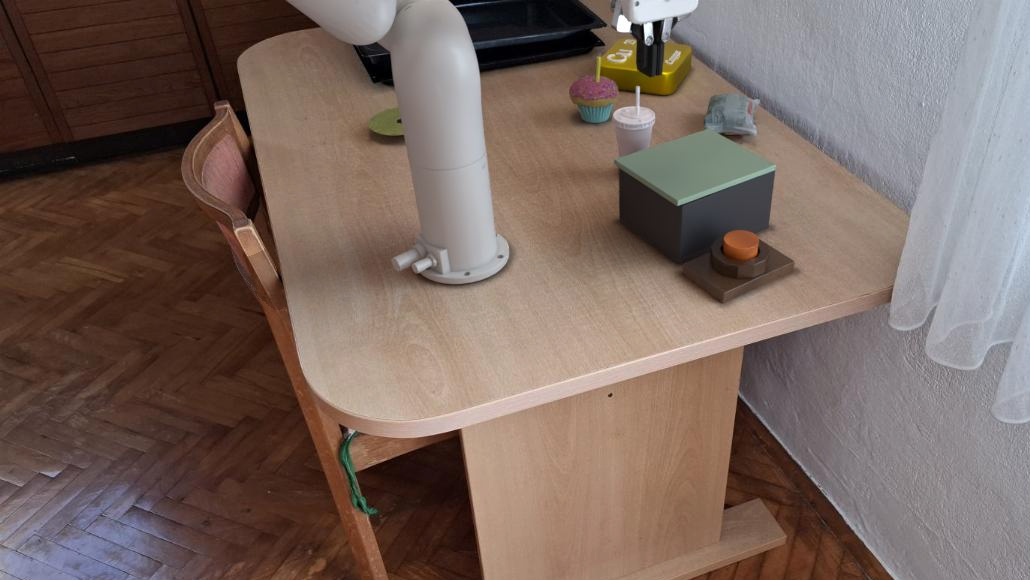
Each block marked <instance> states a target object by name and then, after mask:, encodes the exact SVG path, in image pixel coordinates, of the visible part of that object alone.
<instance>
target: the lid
mask: <svg viewBox="0 0 1030 580" xmlns="http://www.w3.org/2000/svg"><path fill="white" fill-rule="evenodd" d="M613 165H614V166H615V167H617V168H618V169H619V168H620V169H622V170H623V171H625V172H626V173H628V174H629V175H631V176H632V177H634V178H635V179H637V180H638V181H640V182H641V183H643V184H644V185H646V186H648V187H649V188H651V189H652V190H654V191H655V192H657V193H658V194H660V195H661V196H663V197H664V198H666V199H667V200H669V201H670V202H672V203H673V204H675V205H676V206H679V205H682V204H685V203H688V202H690V201H693V200H696V199H698V198H701V197H704V196H707V195H709V194H712V193H715V192H717V191H720V190H723V189H725V188H728V187H731V186H734V185H736V184H739V183H742V182H744V181H747V180H750V179H753V178H755V177H758V176H761V175H763V174H766V173H769V172H772V171H774V170H775V171H776V168H777V165H776V164H775V163H773V162H771V161H769V160H768V159H766V158H764V157H762V156H760V155H758V154H757V153H755V152H753V151H751V150H749V149H748V148H746V147H744V146H742V145H740V144H738V143H736V142H735V141H734V140H733V141H732V140H731V139H729V138H727V137H726V136H725V135H721V134H718V133H716V132H714V131H713V130H711V129H706V130H705V129H703V130H700V131H697V132H694V133H691V134H688V135H684V136H682V137H678V138H675V139H672V140H669V141H666V142H663V143H660V144H657V145H653V146H651V147H649V148H647V149H644V150H641V151H638V152H635V153H632V154H629V155H626V156H623V157H620V158H619V157H616V158H614V159H613Z"/></svg>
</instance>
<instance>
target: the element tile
mask: <svg viewBox="0 0 1030 580" xmlns="http://www.w3.org/2000/svg"><path fill="white" fill-rule="evenodd" d="M636 48H637V40H636V39H634V38H630V37H629V38H627V37H623V38H622V37H621V38H620V39H618V40H617V41H616V42H615V43H614V44H613V45H612V46H611V47H610V48H609V49H608V50H607V51H606V52H605V53H604V54H603V55H602V56H600V57H601V65H600V77H601V76H602V77H607V78H609V79H610V80H613V81H614V82H615V83H616V84H617V85H618V86H617V87H618V91H626V92H633V93H636V86H640V94H648V95H656V96H670V95H673V94H674V93H675V92H676V90H677V89H678V88H679V86H680V85H681V83H683V81H684V80H685V78H686V77H687V76H688V74H690V73H689V72H691V69H692V59H693V58H692V57H693V56H692V54H693V49H692V47H691V46H690V45H688V44H683V43H682V44H681V43H675V42H674V43H673V42H665V45H664V62H663V70H662V75H659V76H657V75H655V76H654V77H651V78H650V77H648V76H646V75H645V74H643V73H641V72H639V71H638V70H637V65H636Z"/></svg>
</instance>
